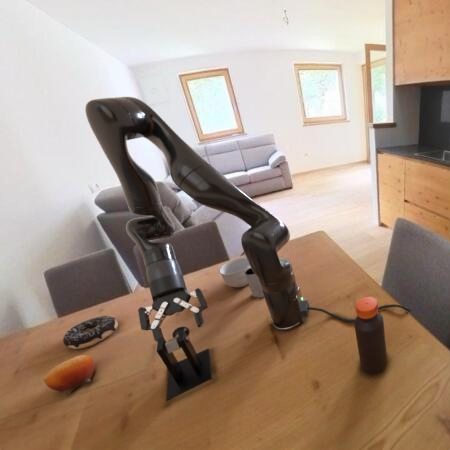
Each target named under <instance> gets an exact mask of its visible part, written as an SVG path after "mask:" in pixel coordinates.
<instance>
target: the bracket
mask: <svg viewBox="0 0 450 450" xmlns="http://www.w3.org/2000/svg"><path fill="white" fill-rule="evenodd" d="M190 339H191V338H190V336H187V334H186V332H185V330H184V329H181V330H179V336H178V343H179V344H180V346H181V348H180V349H182V351H183V353H184V355H185V357H186V358H184V359H182V360H178V359H177V358H176V356H175V354H174V353H173V352H174V351H173V352H171V353H168V351H167V348H166V346H165V343H166V342H167V340H166V338H164V336H163V337H161V338H158V342H157V344H156V352H157V354H158V356H159V357H160V360H161V361H162V362H163V364H164V366H165V367H166V368H167V371H168V372H167V387H166V401H167V402H168V401H170V400H173V398H177V396H180V395H182V394H184V393H186V392H188V391H190V390H192V389H194V388H196V387H198V386H200V385H203V384H204V383H206V382H208V381H210V380H212V379H213V376H212V365H211V355H210V353H211V352H210V348H206V349H204V350H202V351H200V352H197V351H196V348H195V347H194V345H193V344H192V341H191V340H190Z"/></svg>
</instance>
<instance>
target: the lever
mask: <svg viewBox="0 0 450 450" xmlns="http://www.w3.org/2000/svg"><path fill="white" fill-rule="evenodd" d="M181 329H184V330H185V332H186V334H187V336H189V335H190V333H191V332H190V329H189V328H188V327H187V326H184V325H183V326H177V328H175V329H174V330H173V331H172V338H170V339H168V340H166V343H165V346H166V348H167V351H168V353H171V352H176V351H177V350H180V349H182V348H181V346H180V344H179V343H178V336H179V330H181ZM189 337H190V336H189Z"/></svg>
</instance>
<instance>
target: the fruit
mask: <svg viewBox="0 0 450 450" xmlns="http://www.w3.org/2000/svg"><path fill="white" fill-rule="evenodd" d="M94 370H95V363H94V359H93V357H92V356H90V355H85V354H83V355H77V356H74V357H72V358H70V359H67V360H65V361H62V362H61V363H59V364H58V365H56V366H54V367H53V368H51V370H49V372H48V373H47V374H46V375H45V377H44V378H43V382H44V383H45V385H46V386H47V387H48V388H49V389H51V390H52V391H55V392H59V393H61V394H62V393H67V394H68V393H69V394H71V393H72V392H73V390H75V388H77V387H79V386H81V385H83V384H85V383H93V381H92V380H91V378H92V377H93V374H94Z"/></svg>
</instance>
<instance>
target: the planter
mask: <svg viewBox="0 0 450 450" xmlns="http://www.w3.org/2000/svg"><path fill="white" fill-rule="evenodd" d="M245 275H246V278H247V281H248V284H247V285H248V287H249V290H250V292H251V295H252V297H254V298H258V299H259V300H260V299H263V298H264V295H263V292H262V289H261V286H260V283H259V280H258V277H257V276H256V275H255V273H254V272H253V271H252V269H251V268H249V269H248V270H246V271H245Z"/></svg>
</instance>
